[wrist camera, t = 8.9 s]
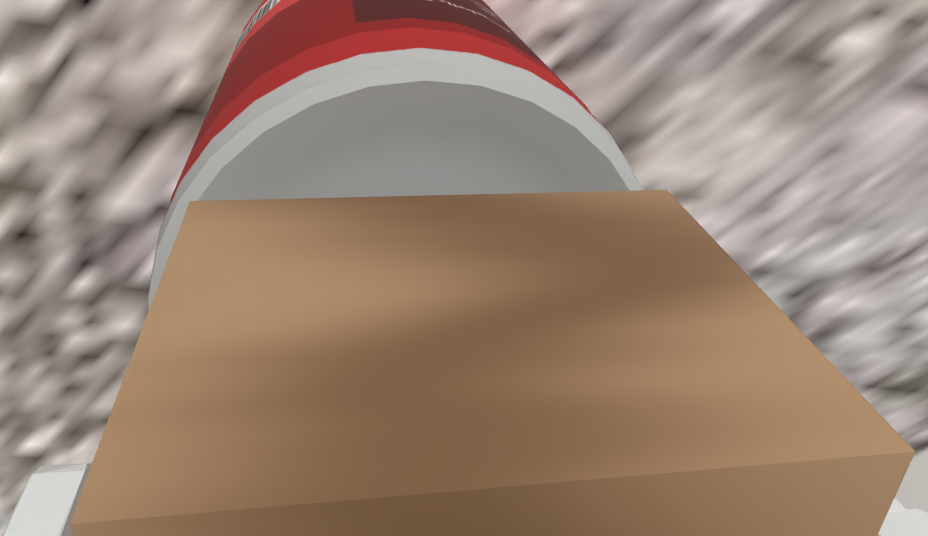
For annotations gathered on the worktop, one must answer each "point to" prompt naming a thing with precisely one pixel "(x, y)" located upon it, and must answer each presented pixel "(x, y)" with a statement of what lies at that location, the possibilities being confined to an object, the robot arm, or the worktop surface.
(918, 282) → the worktop surface
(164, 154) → the worktop surface
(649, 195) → the walnut block
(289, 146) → the canned food
